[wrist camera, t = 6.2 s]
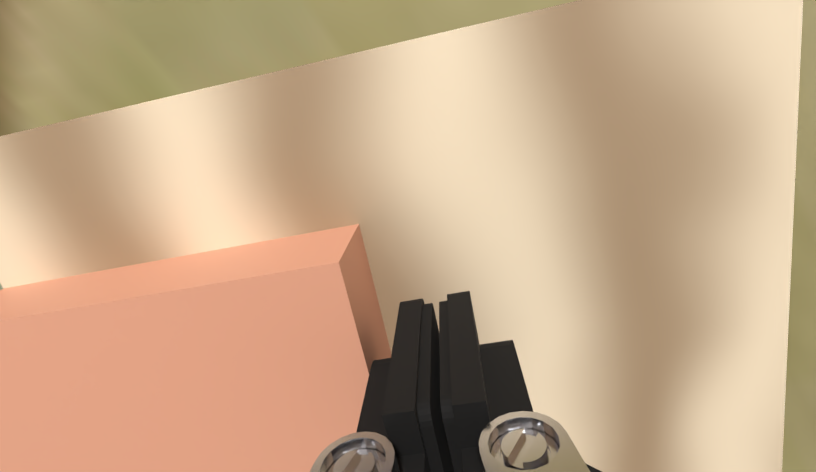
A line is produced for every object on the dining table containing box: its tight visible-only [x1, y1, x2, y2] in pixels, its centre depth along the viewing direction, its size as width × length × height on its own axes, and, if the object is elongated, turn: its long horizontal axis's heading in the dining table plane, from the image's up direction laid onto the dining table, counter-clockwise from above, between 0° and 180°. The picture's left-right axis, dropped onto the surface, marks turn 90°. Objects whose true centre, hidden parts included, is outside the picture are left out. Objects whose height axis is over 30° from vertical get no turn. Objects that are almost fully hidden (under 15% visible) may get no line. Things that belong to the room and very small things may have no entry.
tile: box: [0, 224, 391, 472], centre depth 12 cm, size 10×7×2 cm
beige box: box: [0, 0, 803, 472], centre depth 14 cm, size 20×14×4 cm
